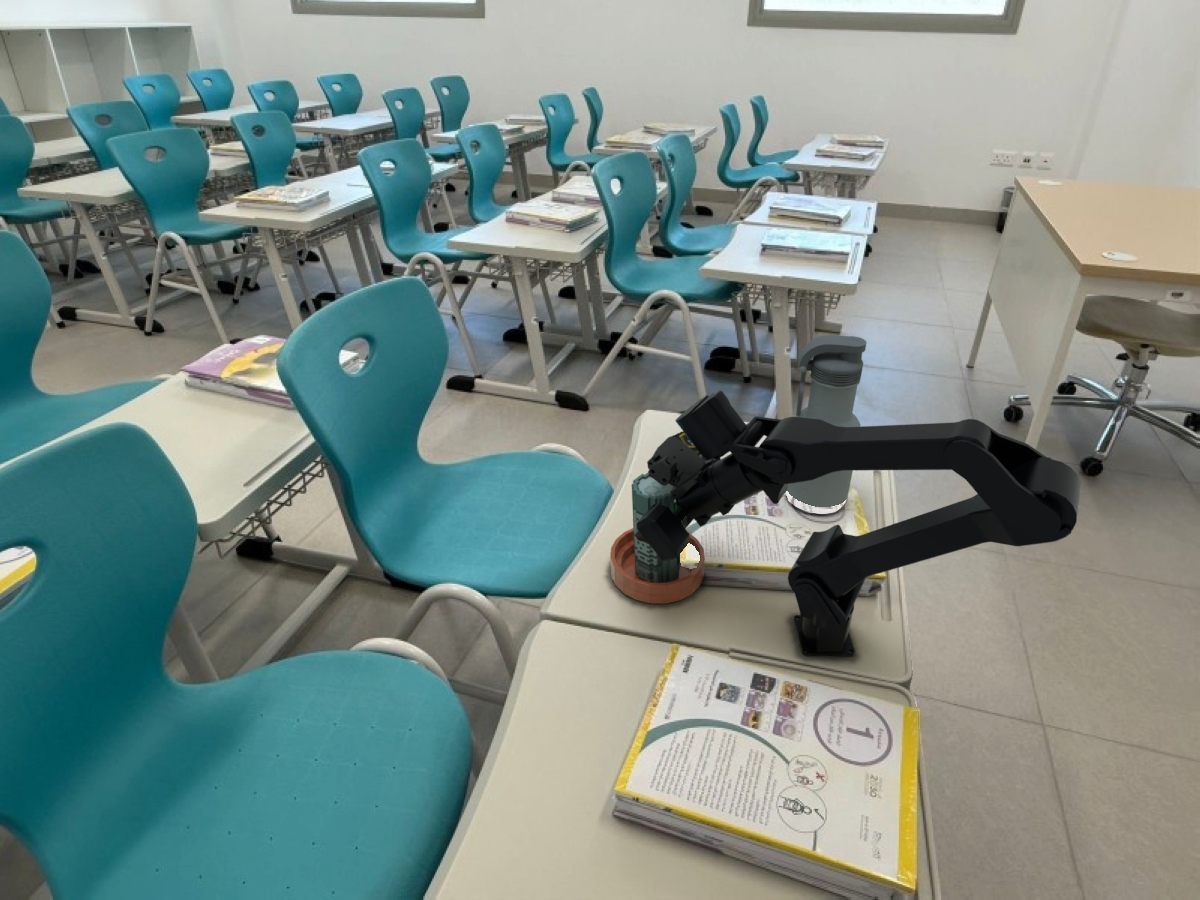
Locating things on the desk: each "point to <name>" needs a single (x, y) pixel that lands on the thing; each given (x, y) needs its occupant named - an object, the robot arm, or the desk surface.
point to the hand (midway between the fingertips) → (648, 524)
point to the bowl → (649, 591)
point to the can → (646, 558)
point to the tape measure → (686, 441)
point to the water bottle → (829, 406)
